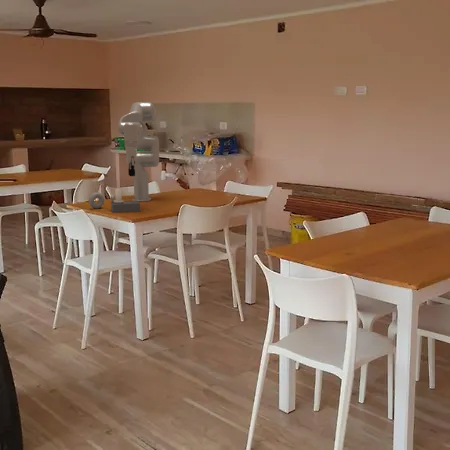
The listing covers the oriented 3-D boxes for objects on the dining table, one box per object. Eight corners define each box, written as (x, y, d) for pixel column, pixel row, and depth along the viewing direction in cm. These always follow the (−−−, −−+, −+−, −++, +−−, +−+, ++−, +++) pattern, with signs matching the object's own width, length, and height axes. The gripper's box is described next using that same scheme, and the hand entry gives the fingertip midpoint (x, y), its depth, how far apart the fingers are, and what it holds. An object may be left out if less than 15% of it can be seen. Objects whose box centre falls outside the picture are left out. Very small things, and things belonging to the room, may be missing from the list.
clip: (110, 199, 367) (110, 195, 367) (134, 198, 371) (134, 195, 371) (110, 199, 365) (110, 196, 364) (135, 198, 369) (135, 195, 368)
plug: (113, 210, 368) (112, 188, 365) (123, 209, 369) (122, 188, 367) (114, 211, 362) (113, 190, 359) (124, 211, 364) (124, 189, 361)
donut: (90, 209, 368) (89, 193, 366) (88, 209, 371) (87, 192, 369) (105, 208, 374) (105, 191, 372) (103, 207, 377) (102, 191, 375)
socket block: (111, 209, 370) (110, 199, 368) (137, 208, 374) (137, 198, 373) (113, 212, 359) (112, 201, 358) (140, 211, 364) (140, 200, 362)
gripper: (122, 143, 364) (123, 174, 368) (126, 145, 348) (127, 177, 352) (135, 143, 366) (136, 173, 370) (139, 145, 351) (140, 177, 354)
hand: (131, 175), depth 361 cm, fingers open, 3 cm apart
